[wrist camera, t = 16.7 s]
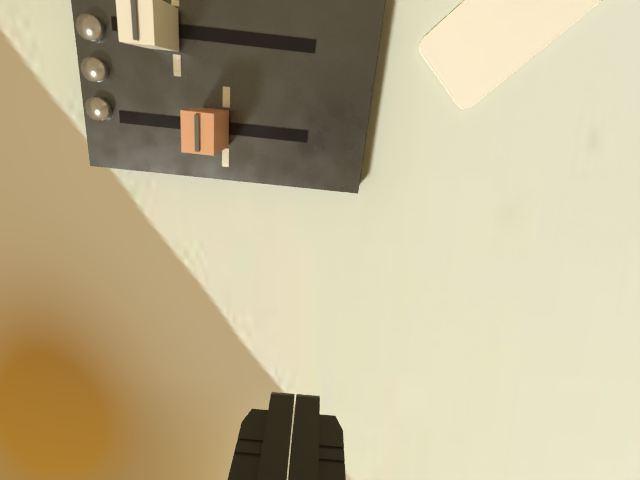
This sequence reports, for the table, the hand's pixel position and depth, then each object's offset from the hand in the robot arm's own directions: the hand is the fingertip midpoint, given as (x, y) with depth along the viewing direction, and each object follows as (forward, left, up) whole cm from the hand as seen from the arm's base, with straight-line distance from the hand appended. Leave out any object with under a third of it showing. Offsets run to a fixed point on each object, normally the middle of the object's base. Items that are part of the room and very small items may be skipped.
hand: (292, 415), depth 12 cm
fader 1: (-13, -13, -25) cm, 31 cm away
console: (-9, -8, -27) cm, 30 cm away
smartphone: (-17, +15, -28) cm, 36 cm away
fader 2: (-5, -9, -25) cm, 27 cm away
